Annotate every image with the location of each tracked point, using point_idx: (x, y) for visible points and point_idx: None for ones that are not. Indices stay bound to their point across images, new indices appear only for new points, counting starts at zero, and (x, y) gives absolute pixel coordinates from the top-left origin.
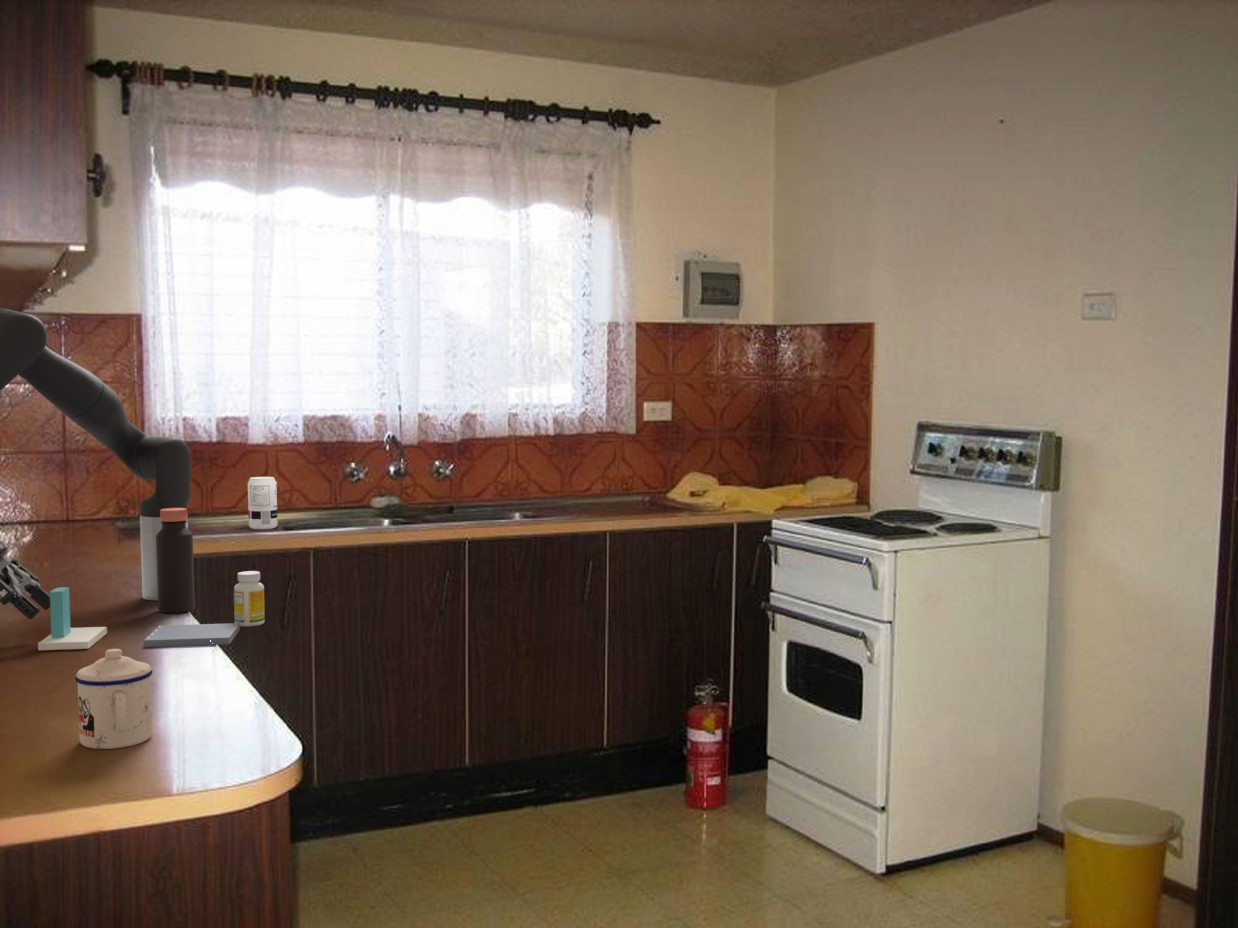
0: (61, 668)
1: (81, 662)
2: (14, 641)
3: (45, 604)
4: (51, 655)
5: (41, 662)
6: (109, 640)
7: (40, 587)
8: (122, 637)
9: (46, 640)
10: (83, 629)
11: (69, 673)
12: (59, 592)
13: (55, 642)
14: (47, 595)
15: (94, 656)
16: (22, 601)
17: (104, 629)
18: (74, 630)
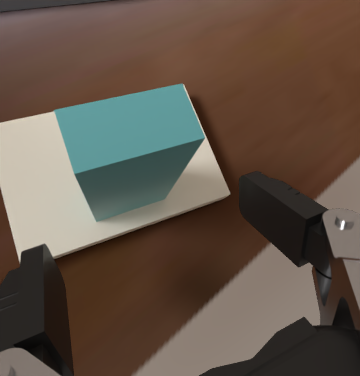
0: (323, 71)
1: (278, 58)
2: (133, 358)
3: (59, 282)
4: (250, 143)
5: (303, 129)
6: (80, 93)
7: (19, 335)
8: (39, 78)
9: (196, 192)
10: (34, 175)
11: (342, 44)
12: (185, 98)
13: (210, 155)
14: (43, 273)
15: (232, 56)
16: (321, 206)
17: (16, 121)
18: (53, 194)
